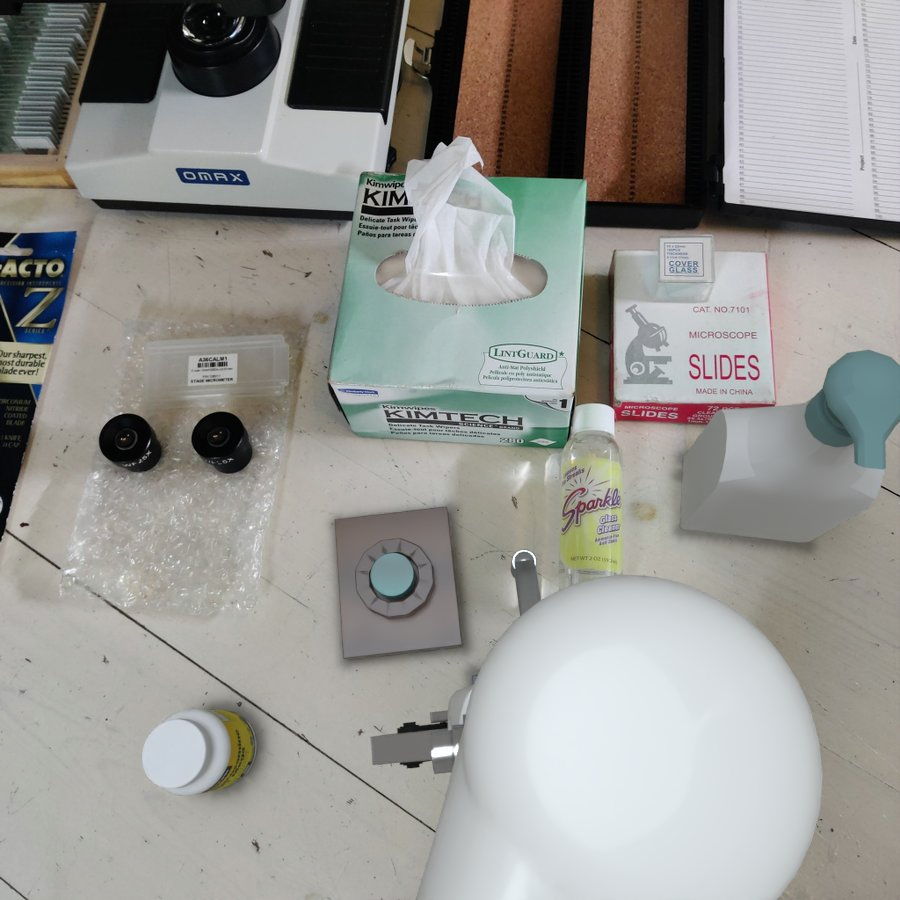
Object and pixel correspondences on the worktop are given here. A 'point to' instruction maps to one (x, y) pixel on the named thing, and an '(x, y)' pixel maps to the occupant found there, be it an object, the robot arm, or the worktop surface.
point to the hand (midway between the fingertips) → (552, 725)
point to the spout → (525, 579)
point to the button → (393, 575)
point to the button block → (419, 612)
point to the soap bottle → (795, 457)
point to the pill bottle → (199, 751)
